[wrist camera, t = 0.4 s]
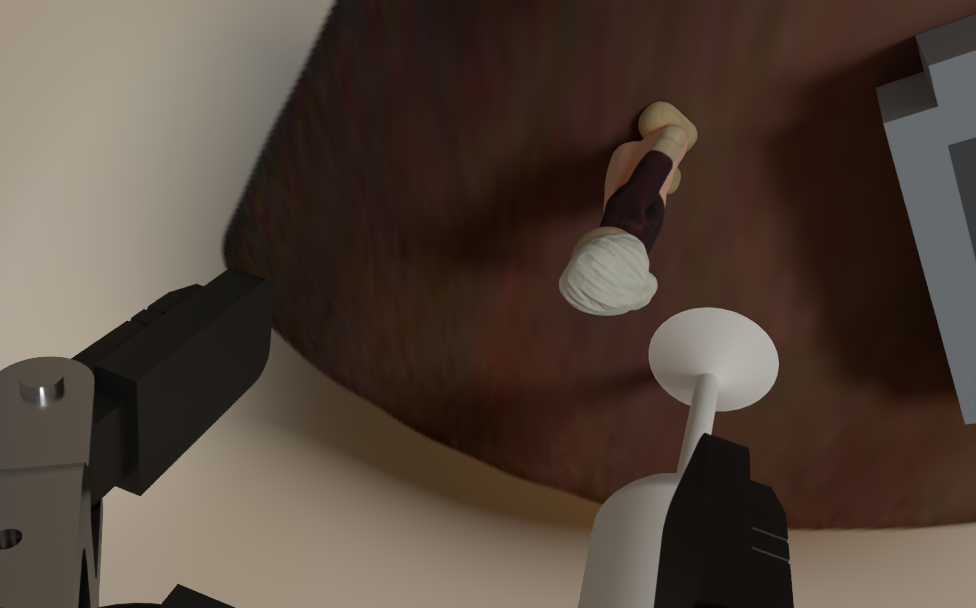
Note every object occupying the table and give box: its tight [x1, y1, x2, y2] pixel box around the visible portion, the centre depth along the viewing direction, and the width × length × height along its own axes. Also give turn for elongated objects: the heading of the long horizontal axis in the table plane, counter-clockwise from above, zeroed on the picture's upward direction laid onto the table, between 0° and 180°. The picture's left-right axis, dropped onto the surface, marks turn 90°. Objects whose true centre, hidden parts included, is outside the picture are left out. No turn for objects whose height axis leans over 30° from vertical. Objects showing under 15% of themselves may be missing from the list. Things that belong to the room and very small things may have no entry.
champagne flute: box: [578, 307, 779, 608], centre depth 31 cm, size 7×7×24 cm
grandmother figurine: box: [559, 102, 697, 315], centre depth 31 cm, size 8×4×13 cm, turn 177°
